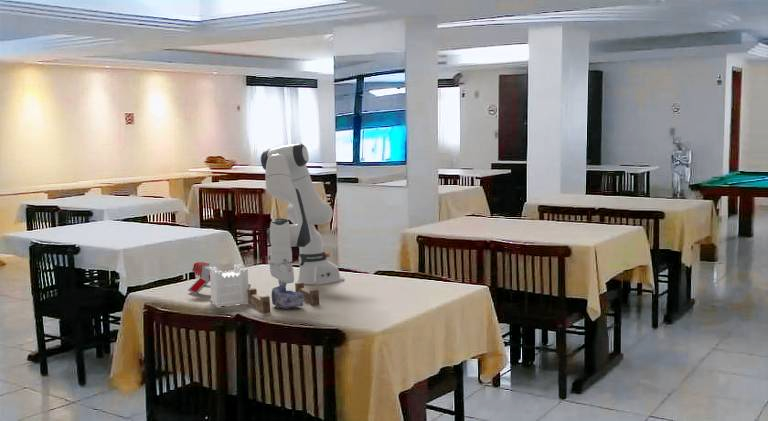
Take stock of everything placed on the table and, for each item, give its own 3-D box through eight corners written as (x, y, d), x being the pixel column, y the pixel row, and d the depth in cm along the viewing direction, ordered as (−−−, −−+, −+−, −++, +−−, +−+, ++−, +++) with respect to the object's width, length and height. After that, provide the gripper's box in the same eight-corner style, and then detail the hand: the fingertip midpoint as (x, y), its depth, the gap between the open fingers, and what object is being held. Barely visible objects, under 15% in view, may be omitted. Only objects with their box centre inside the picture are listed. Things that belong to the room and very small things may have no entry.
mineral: (267, 286, 323) (287, 280, 329) (268, 307, 326) (288, 301, 332) (286, 295, 313) (307, 289, 319) (287, 317, 315) (308, 311, 321)
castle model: (217, 307, 328) (215, 272, 326) (210, 301, 341) (208, 267, 339) (250, 303, 333) (248, 269, 332) (242, 297, 346) (240, 264, 345)
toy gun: (235, 316, 348) (244, 286, 345) (184, 291, 356) (192, 261, 353) (243, 313, 355) (252, 283, 351) (193, 288, 363) (201, 259, 359)
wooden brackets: (302, 296, 344) (302, 282, 343) (319, 304, 326) (319, 289, 325) (248, 303, 333) (247, 288, 332) (262, 313, 315) (262, 297, 315)
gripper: (297, 260, 319) (298, 293, 320) (280, 253, 337) (282, 285, 338) (282, 262, 316) (283, 295, 317) (266, 255, 334) (268, 287, 336)
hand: (282, 290), depth 328 cm, fingers closed
